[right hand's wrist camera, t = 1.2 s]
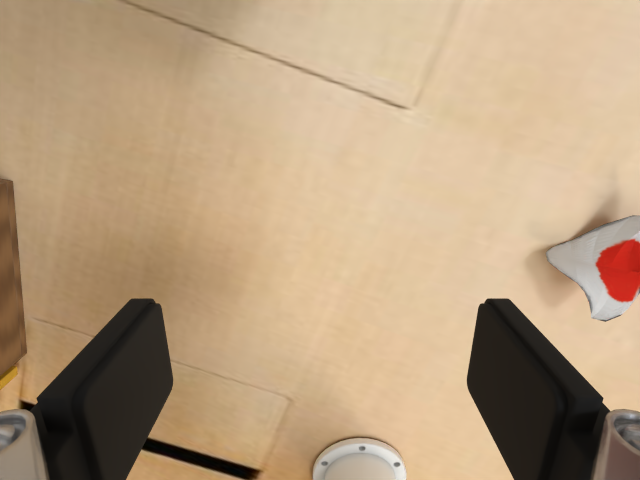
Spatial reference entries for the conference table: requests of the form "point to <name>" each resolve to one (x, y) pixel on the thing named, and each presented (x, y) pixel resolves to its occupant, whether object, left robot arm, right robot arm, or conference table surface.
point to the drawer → (8, 376)
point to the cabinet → (10, 284)
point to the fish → (604, 266)
